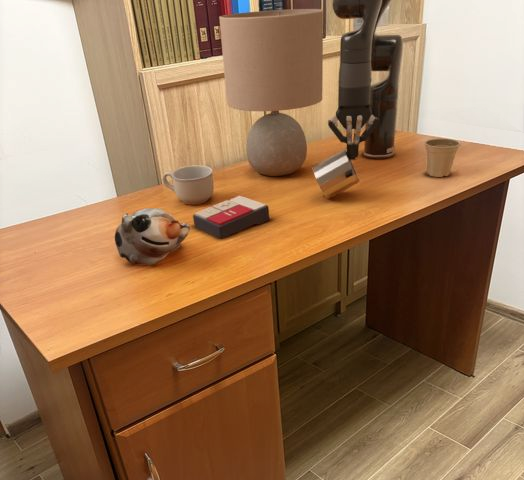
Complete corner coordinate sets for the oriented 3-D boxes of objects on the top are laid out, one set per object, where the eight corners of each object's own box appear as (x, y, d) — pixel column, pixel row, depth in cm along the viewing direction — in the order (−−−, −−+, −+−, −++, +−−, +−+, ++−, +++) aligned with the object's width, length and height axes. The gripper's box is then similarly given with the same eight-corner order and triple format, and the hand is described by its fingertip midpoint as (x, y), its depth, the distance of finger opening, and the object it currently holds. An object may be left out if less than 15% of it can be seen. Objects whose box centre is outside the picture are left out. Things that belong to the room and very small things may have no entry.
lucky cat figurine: (183, 238, 124) (193, 192, 113) (181, 279, 117) (192, 234, 106) (116, 227, 120) (120, 179, 109) (110, 268, 114) (114, 221, 102)
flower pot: (452, 168, 156) (456, 137, 151) (458, 178, 148) (463, 146, 143) (419, 169, 157) (422, 138, 152) (423, 179, 149) (427, 147, 144)
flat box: (191, 212, 128) (239, 192, 135) (194, 229, 130) (242, 209, 137) (219, 223, 121) (268, 202, 128) (221, 241, 123) (270, 219, 130)
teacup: (222, 196, 147) (219, 166, 143) (202, 209, 139) (199, 178, 135) (179, 191, 152) (175, 163, 148) (158, 204, 144) (153, 174, 140)
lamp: (325, 158, 172) (326, 7, 148) (317, 185, 150) (318, 13, 127) (243, 159, 176) (232, 12, 153) (224, 185, 155) (208, 19, 131)
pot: (357, 173, 143) (342, 143, 139) (361, 188, 134) (346, 156, 129) (327, 190, 146) (311, 160, 142) (329, 205, 137) (312, 175, 132)
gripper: (381, 79, 128) (376, 153, 138) (325, 82, 129) (325, 156, 139) (385, 84, 122) (380, 162, 132) (327, 87, 123) (326, 164, 133)
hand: (352, 159), depth 135 cm, fingers closed
